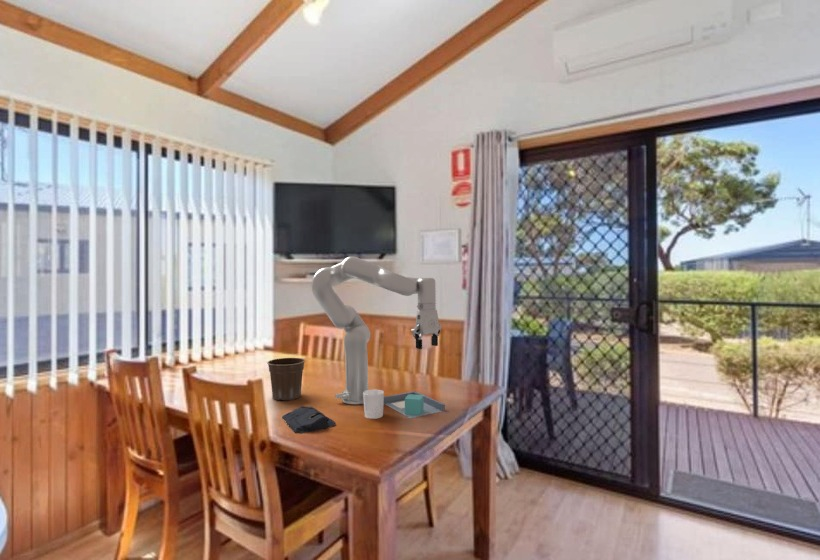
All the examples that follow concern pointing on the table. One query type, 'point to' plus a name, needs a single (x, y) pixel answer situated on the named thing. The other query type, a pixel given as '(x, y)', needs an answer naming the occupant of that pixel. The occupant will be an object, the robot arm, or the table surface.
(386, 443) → the table surface
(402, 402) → the tray
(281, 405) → the table surface
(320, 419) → the dark slate chunk
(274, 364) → the plant pot
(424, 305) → the robot arm
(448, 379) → the table surface
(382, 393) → the white cup
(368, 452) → the table surface
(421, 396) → the teal cube
